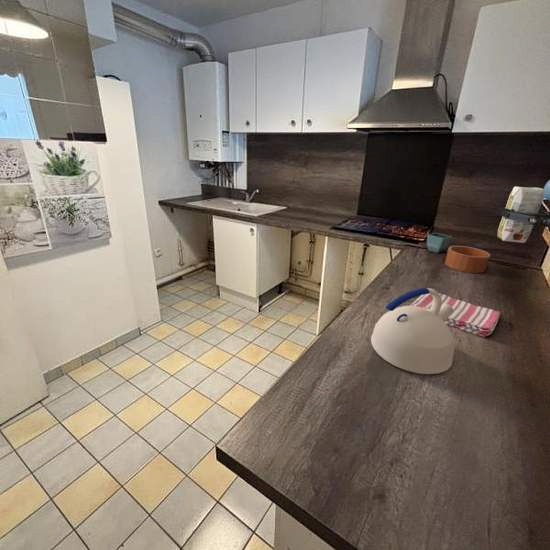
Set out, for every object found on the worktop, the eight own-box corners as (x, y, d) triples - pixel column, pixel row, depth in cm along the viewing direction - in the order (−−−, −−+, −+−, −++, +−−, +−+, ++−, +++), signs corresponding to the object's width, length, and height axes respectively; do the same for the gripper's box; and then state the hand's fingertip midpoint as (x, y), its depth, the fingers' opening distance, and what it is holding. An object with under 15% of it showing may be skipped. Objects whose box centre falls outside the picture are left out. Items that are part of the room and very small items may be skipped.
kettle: (472, 366, 72) (496, 303, 65) (402, 382, 67) (421, 314, 60) (415, 323, 90) (429, 269, 83) (356, 332, 84) (365, 275, 77)
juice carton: (528, 243, 105) (549, 189, 97) (500, 241, 107) (519, 187, 100) (519, 238, 111) (539, 187, 104) (493, 236, 114) (510, 185, 106)
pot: (487, 266, 139) (492, 251, 136) (482, 276, 128) (488, 260, 125) (448, 257, 149) (452, 243, 146) (441, 266, 137) (445, 251, 134)
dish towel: (489, 340, 83) (493, 329, 82) (407, 309, 98) (409, 300, 96) (499, 318, 95) (502, 309, 93) (424, 294, 109) (426, 285, 108)
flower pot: (447, 252, 157) (452, 236, 154) (439, 255, 153) (443, 238, 149) (432, 247, 164) (436, 232, 160) (423, 250, 159) (427, 234, 156)
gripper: (533, 237, 89) (479, 220, 110) (597, 237, 92) (532, 221, 112) (543, 212, 86) (486, 200, 107) (608, 213, 89) (540, 201, 109)
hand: (510, 210), depth 109 cm, fingers closed on juice carton, 9 cm apart
